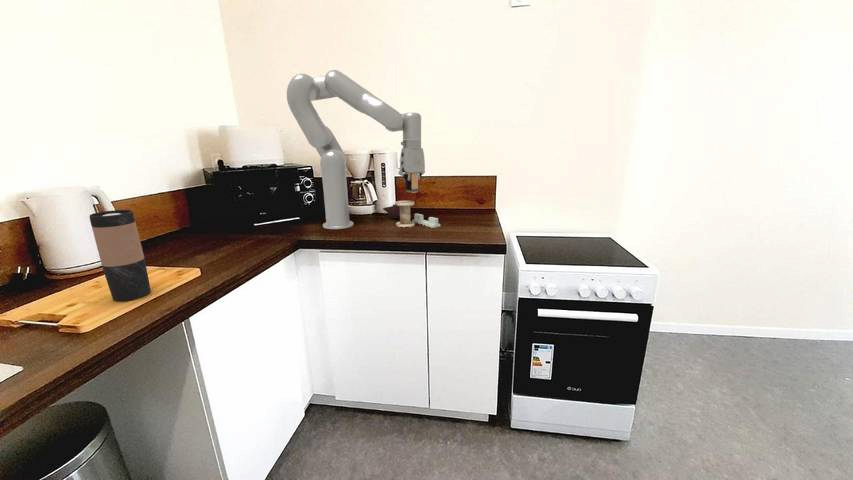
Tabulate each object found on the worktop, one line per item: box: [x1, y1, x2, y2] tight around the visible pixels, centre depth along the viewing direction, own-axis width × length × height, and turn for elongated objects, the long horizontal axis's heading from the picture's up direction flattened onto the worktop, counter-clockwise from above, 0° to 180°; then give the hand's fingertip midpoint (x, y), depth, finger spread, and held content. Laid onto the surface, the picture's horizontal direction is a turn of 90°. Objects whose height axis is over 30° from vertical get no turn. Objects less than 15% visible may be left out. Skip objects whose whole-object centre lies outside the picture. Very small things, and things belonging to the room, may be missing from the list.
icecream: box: [382, 203, 400, 220], centre depth 163 cm, size 7×7×15 cm
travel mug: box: [89, 209, 152, 303], centre depth 82 cm, size 8×8×20 cm
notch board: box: [412, 213, 441, 229], centre depth 152 cm, size 14×4×4 cm, turn 40°
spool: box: [394, 200, 416, 229], centre depth 149 cm, size 8×8×10 cm
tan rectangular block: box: [406, 173, 419, 194], centre depth 150 cm, size 4×3×8 cm
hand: (412, 188), depth 151 cm, fingers closed on tan rectangular block, 3 cm apart
